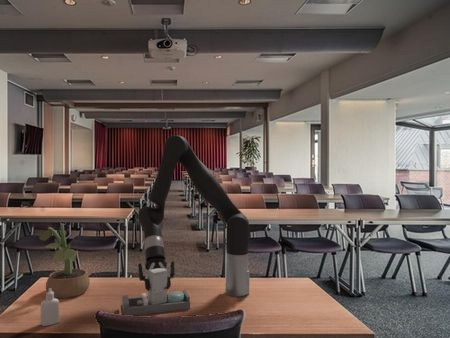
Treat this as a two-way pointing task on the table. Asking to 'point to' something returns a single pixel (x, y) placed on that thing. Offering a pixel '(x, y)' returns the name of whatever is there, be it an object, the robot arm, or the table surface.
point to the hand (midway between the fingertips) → (158, 289)
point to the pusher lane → (133, 309)
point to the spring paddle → (143, 300)
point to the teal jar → (175, 297)
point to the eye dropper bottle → (49, 309)
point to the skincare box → (157, 286)
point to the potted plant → (65, 269)
